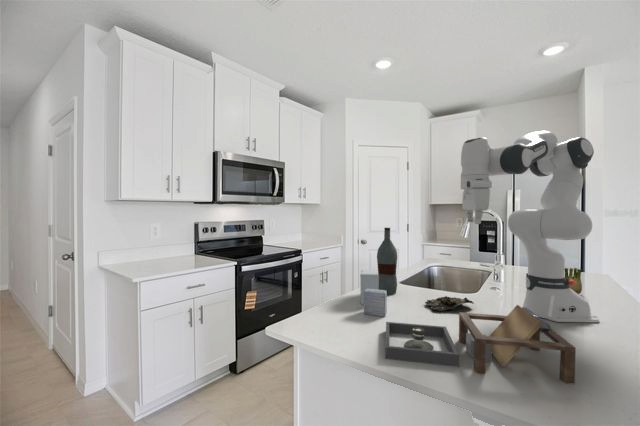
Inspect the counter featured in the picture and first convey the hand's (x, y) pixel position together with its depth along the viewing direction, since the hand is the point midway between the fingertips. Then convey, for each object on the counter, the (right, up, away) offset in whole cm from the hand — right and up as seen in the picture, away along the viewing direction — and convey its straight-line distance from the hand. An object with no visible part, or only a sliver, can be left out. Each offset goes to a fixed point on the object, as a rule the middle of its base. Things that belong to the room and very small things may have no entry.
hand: (473, 223), depth 108 cm
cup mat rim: (-26, -35, -21) cm, 48 cm away
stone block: (-9, -33, -26) cm, 43 cm away
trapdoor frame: (-5, -35, -28) cm, 45 cm away
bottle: (-24, -33, +33) cm, 53 cm away
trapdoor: (-2, -30, -28) cm, 41 cm away
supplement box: (-34, -34, +19) cm, 52 cm away
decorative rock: (-4, -34, +14) cm, 37 cm away
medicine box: (-34, -34, +6) cm, 48 cm away
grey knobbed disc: (-26, -35, -21) cm, 48 cm away
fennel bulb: (+61, -34, +31) cm, 76 cm away
